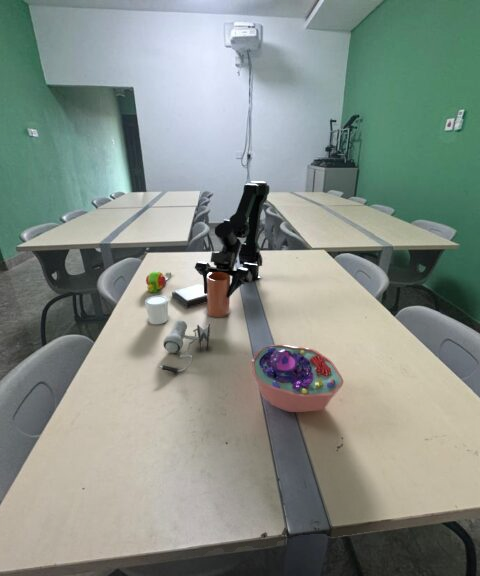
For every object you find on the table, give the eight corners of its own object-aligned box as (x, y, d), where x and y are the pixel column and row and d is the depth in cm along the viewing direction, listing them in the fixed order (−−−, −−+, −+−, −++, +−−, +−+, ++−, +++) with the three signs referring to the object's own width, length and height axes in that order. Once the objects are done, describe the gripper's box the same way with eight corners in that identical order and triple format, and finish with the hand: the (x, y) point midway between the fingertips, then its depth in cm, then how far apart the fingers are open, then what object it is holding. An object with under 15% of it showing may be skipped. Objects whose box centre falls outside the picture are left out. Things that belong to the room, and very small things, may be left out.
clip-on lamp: (198, 384, 78) (213, 333, 92) (198, 368, 74) (214, 317, 88) (151, 377, 78) (174, 326, 92) (149, 361, 74) (172, 310, 89)
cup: (221, 304, 111) (221, 270, 105) (233, 313, 106) (234, 277, 100) (203, 310, 106) (202, 274, 101) (215, 319, 101) (215, 282, 96)
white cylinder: (172, 315, 103) (171, 296, 100) (165, 326, 97) (163, 306, 94) (152, 313, 103) (150, 294, 101) (143, 324, 97) (140, 304, 94)
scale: (200, 288, 122) (200, 283, 121) (216, 299, 115) (216, 292, 114) (172, 296, 115) (171, 290, 114) (187, 308, 108) (186, 301, 107)
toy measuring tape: (141, 293, 117) (139, 277, 114) (162, 274, 134) (160, 259, 132) (158, 295, 116) (156, 278, 113) (176, 275, 134) (175, 261, 131)
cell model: (320, 445, 60) (328, 400, 55) (234, 401, 69) (235, 359, 65) (347, 393, 73) (355, 352, 68) (272, 362, 83) (275, 324, 78)
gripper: (196, 237, 102) (180, 281, 97) (250, 244, 97) (236, 291, 92) (207, 254, 112) (193, 294, 107) (257, 261, 107) (245, 303, 102)
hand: (216, 295), depth 102 cm, fingers closed on cup, 7 cm apart
